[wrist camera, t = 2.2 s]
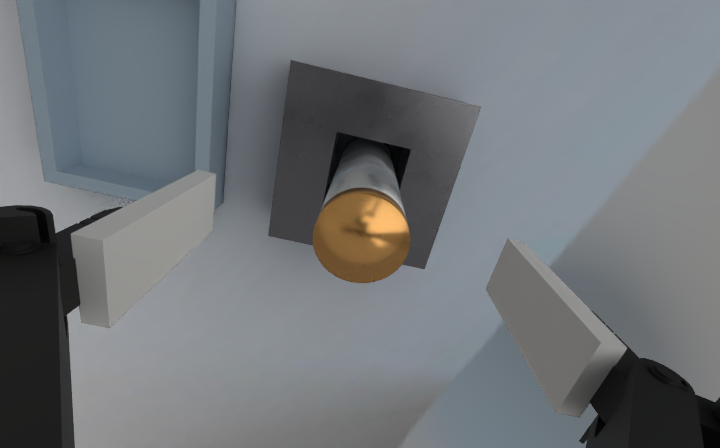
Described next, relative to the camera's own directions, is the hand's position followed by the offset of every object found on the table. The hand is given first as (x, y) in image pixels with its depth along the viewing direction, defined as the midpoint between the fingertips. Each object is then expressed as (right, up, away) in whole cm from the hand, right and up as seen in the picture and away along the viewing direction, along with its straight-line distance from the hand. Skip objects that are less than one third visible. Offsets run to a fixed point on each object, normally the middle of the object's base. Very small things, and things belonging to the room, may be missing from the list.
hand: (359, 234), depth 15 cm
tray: (-16, +11, +10) cm, 21 cm away
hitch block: (+1, +5, +12) cm, 13 cm away
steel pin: (+1, +5, +12) cm, 13 cm away
